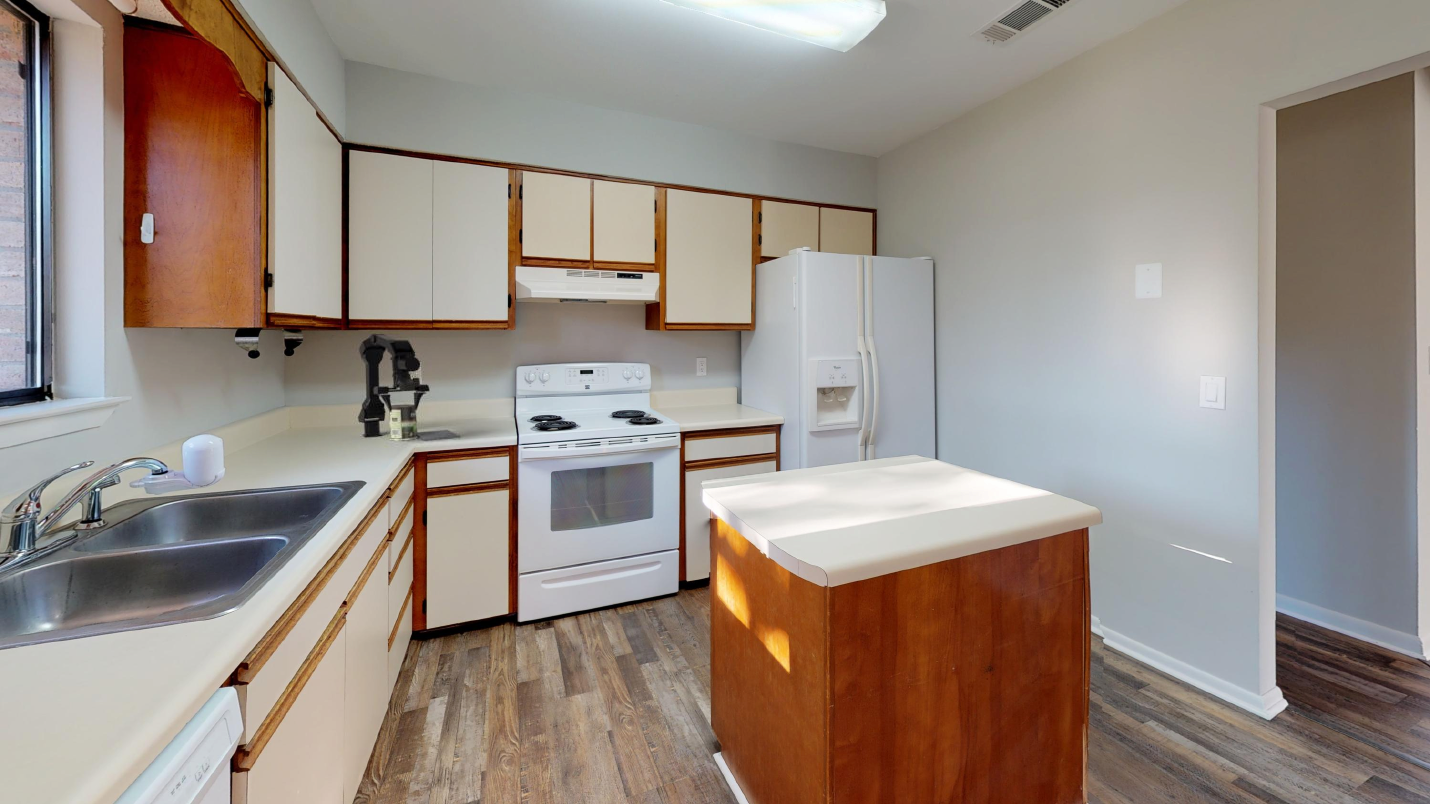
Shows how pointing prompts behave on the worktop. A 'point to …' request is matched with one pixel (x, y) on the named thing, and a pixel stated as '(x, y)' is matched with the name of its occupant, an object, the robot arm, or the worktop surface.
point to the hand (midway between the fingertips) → (403, 410)
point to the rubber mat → (436, 435)
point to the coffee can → (403, 422)
